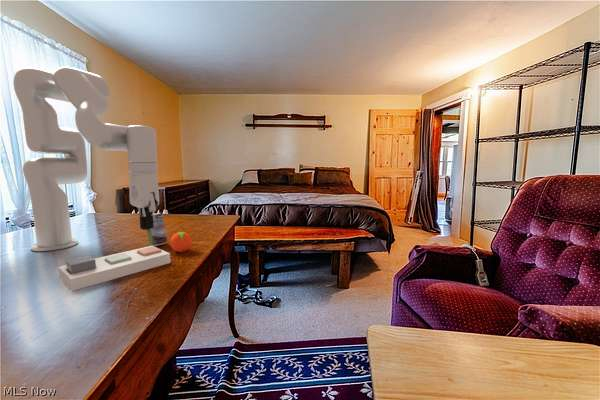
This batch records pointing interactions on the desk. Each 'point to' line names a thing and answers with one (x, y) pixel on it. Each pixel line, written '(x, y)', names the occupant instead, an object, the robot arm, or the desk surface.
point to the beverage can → (157, 231)
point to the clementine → (181, 241)
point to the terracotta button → (148, 251)
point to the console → (113, 269)
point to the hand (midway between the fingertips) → (147, 228)
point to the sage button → (117, 258)
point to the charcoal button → (80, 264)
